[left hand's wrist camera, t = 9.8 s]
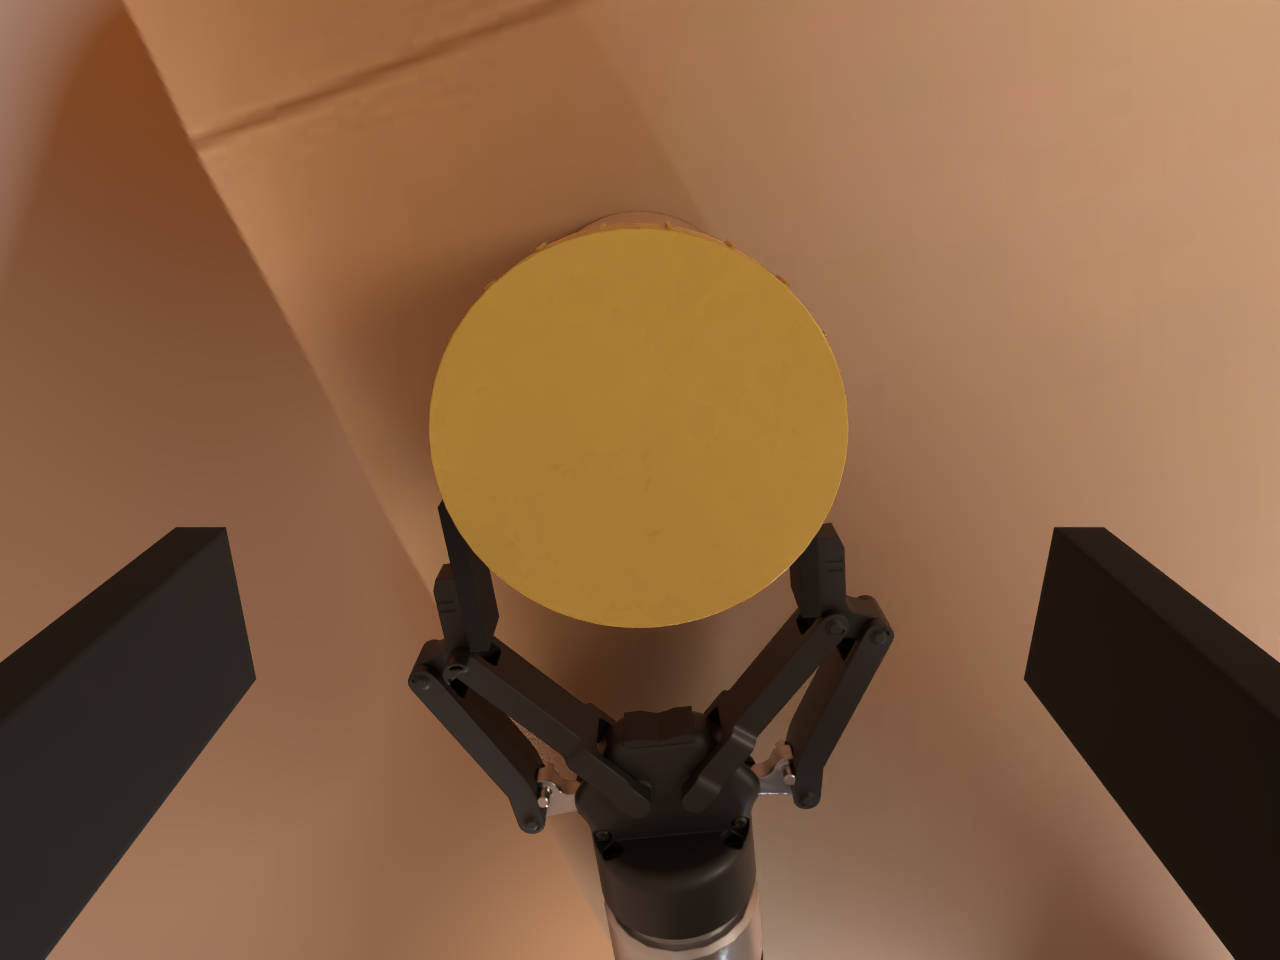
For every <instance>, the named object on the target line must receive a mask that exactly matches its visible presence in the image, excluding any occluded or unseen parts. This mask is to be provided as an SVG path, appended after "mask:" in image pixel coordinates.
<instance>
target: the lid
mask: <svg viewBox="0 0 1280 960" xmlns="http://www.w3.org/2000/svg"><path fill="white" fill-rule="evenodd" d="M789 285H790V284H789V283H788V282H786V281H785V280H784V279H783V278H781V277H780V276H779V275H777V276H776V277H775V276H774V275H773V274H771V273H770V272H769V271H768V270H767V269H765V268H764V267H763V266H762V265H760V264H759V263H758V262H757V261H755V260H754V259H753V258H751V257H749V256H748V255H746V254H744V253H743V252H741V251H739V250H738V249H736V245H734V244H733V243H732V242H731V241H729V240H727V239H726V241H725V242H722V241H720V240H718V239H716V238H713V237H711V236H709V235H706V234H703V233H700V232H696V231H693V230H689V229H685V228H682V227H678V226H672V225H671V223H670V222H669V221H665V225H663V224H655V223H621V224H614V225H606V222H602V223H601V225H600V226H599V227H595V228H591V229H588V230H584V231H581V232H577V233H574V234H570V235H568V236H566V237H564V238H561V239H559V240H557V241H555V242H552V243H550V244H548V245H547V243H546V242H544V243H542V244H541V245H540V246H538V247H537V248H536V252H534V253H533V254H531V255H529V256H528V257H526V258H525V259H523V260H522V261H520V262H519V263H518V264H516V265H515V266H514V267H513V268H511V269H510V270H509V271H508V272H506V273H505V274H504V275H503V276H502V277H500V278H499V279H498V280H497V279H494V280H493V281H492V282H490V283H489V284H488V285H486V286H485V287H484V288H483V289H484V290H485V292H484V293H483V294H482V295H481V297H480V298H479V299H478V300H477V301H476V302H475V303H474V304H473V305H472V306H471V307H470V309H469V310H468V312H467V313H466V315H465V316H464V318H463V319H462V321H461V322H460V324H459V325H458V327H457V328H456V330H455V331H454V333H453V335H452V336H451V337H449V339H448V342H449V343H448V345H447V347H446V349H445V351H444V354H443V356H442V359H441V362H440V365H439V368H438V371H437V374H436V377H435V380H434V385H433V390H432V396H431V402H430V407H429V444H430V454H431V461H432V465H433V470H434V474H435V478H436V482H437V486H438V488H439V491H440V493H441V496H442V499H443V501H444V504H445V506H446V509H447V511H448V513H449V514H450V516H451V518H452V520H453V522H454V524H455V525H456V527H457V529H458V531H459V532H460V534H461V535H462V536H463V538H464V539H465V541H466V542H467V543H468V545H469V546H470V547H471V549H472V550H473V552H474V553H475V554H476V555H477V556H478V557H479V558H480V559H481V560H482V561H483V562H484V563H485V564H486V566H487V567H488V568H489V569H490V570H491V571H492V572H494V573H495V574H496V575H497V576H498V577H500V578H501V579H502V580H503V581H504V582H506V583H507V584H508V585H509V586H510V587H512V588H514V589H515V590H517V591H518V592H520V593H521V594H523V595H524V596H526V597H527V598H529V599H531V600H532V601H534V602H536V603H538V604H540V605H542V606H545V607H547V608H549V609H551V610H553V611H555V612H558V613H561V614H563V615H566V616H569V617H572V618H575V619H578V620H582V621H586V622H591V623H595V624H600V625H606V626H615V627H624V628H654V627H662V626H671V625H678V624H682V623H686V622H691V621H695V620H699V619H703V618H705V617H708V616H711V615H714V614H716V613H719V612H722V611H725V610H727V609H729V608H731V607H733V606H735V605H737V604H739V603H741V602H743V601H745V600H747V599H748V598H750V597H751V596H753V595H754V594H756V593H757V592H759V591H761V590H762V589H764V588H765V587H767V586H768V585H769V584H770V583H772V582H773V581H774V580H775V579H776V578H778V577H779V576H780V575H781V574H782V573H783V572H785V571H786V570H787V569H788V568H789V567H790V566H791V565H792V564H793V563H794V561H795V560H796V559H797V558H798V557H799V556H800V555H801V554H802V553H803V552H804V551H805V549H806V548H807V546H808V545H809V544H810V542H811V541H812V539H813V538H814V537H815V535H816V534H817V532H818V531H819V529H820V527H821V526H822V524H823V522H824V520H825V518H826V516H827V514H828V513H829V511H830V509H831V507H832V504H833V501H834V499H835V496H836V494H837V491H838V488H839V486H840V482H841V478H842V474H843V470H844V465H845V461H846V454H847V443H848V411H847V402H846V397H845V391H844V386H843V380H842V377H841V374H840V371H839V368H838V365H837V362H836V359H835V356H834V354H833V352H832V350H831V348H830V346H829V344H828V342H827V340H826V338H825V337H827V335H826V333H825V332H824V331H823V330H821V328H820V327H819V325H818V324H817V322H816V321H815V320H814V318H813V317H812V315H811V314H810V312H809V311H808V309H807V308H806V307H805V305H804V304H803V303H802V302H801V301H800V300H799V299H798V298H797V297H796V296H795V295H794V294H793V292H792V291H791V290H790V289H789V288H788V286H789Z"/></svg>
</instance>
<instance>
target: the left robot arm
mask: <svg viewBox="0 0 1280 960" xmlns="http://www.w3.org/2000/svg"><path fill="white" fill-rule="evenodd" d="M255 680H256V676H255V671H254V666H253V661H252V656H251V651H250V646H249V641H248V636H247V631H246V626H245V621H244V616H243V611H242V606H241V601H240V596H239V591H238V586H237V581H236V576H235V571H234V566H233V561H232V556H231V551H230V546H229V541H228V536H227V531H226V528H225V527H176V528H174V529H173V530H172V531H171V532H169V533H168V534H167V535H165V536H164V537H163V538H162V539H160V540H159V541H158V542H156V543H155V544H154V545H152V546H151V547H150V548H149V549H147V550H146V551H145V552H143V553H142V554H141V555H139V556H138V557H137V558H136V559H134V560H133V561H132V562H130V563H129V564H128V565H126V566H125V567H124V568H123V569H121V570H120V571H119V572H117V573H116V574H115V575H114V576H112V577H111V578H110V579H108V580H107V581H106V582H104V583H103V584H102V585H101V586H99V587H98V588H97V589H95V590H94V591H93V592H91V593H90V594H89V595H88V596H86V597H85V598H84V599H82V600H81V601H80V602H79V603H77V604H76V605H75V606H73V607H72V608H71V609H69V610H68V611H67V612H65V613H64V614H63V615H62V616H60V617H59V618H58V619H56V620H55V621H54V622H53V623H51V624H50V625H49V626H47V627H46V628H45V629H43V630H42V631H41V632H40V633H38V634H37V635H36V636H34V637H33V638H32V639H30V640H29V641H28V642H27V643H25V644H24V645H23V646H21V647H20V648H19V649H18V650H16V651H15V652H14V653H12V654H11V655H10V656H8V657H7V658H6V659H5V660H3V661H2V662H1V663H0V960H45V959H46V957H47V956H48V955H49V953H50V952H51V951H52V949H53V948H54V947H55V945H56V944H57V943H58V942H59V940H60V939H61V937H62V936H63V935H64V934H65V932H66V931H67V930H68V928H69V927H70V925H71V924H72V923H73V922H74V920H75V919H76V918H77V916H78V915H79V914H80V912H81V911H82V910H83V908H84V907H85V906H86V904H87V903H88V902H89V900H90V899H91V898H92V896H93V895H94V894H95V892H96V891H97V890H98V888H99V887H100V886H101V884H102V883H103V882H104V880H105V879H106V878H107V876H108V875H109V874H110V872H111V871H112V870H113V868H114V867H115V866H116V865H117V863H118V862H119V861H120V859H121V858H122V857H123V855H124V854H125V853H126V851H127V850H128V849H129V847H130V846H131V845H132V843H133V842H134V841H135V839H136V838H137V837H138V835H139V834H140V833H141V831H142V830H143V829H144V827H145V826H146V825H147V823H148V822H149V821H150V819H151V818H152V817H153V815H154V814H155V813H156V811H157V810H158V809H159V807H160V806H161V805H162V803H163V802H164V801H165V799H166V798H167V797H168V795H169V794H170V793H171V792H172V790H173V789H174V788H175V786H176V785H177V784H178V782H179V781H180V780H181V778H182V777H183V776H184V774H185V773H186V772H187V770H188V769H189V768H190V766H191V765H192V764H193V762H194V761H195V760H196V758H197V757H198V756H199V754H200V753H201V752H202V750H203V749H204V748H205V746H206V745H207V744H208V742H209V741H210V740H211V738H212V737H213V736H214V734H215V733H216V732H217V730H218V729H219V728H220V726H221V725H222V724H223V722H224V721H225V720H226V718H227V717H228V716H229V714H230V713H231V712H232V710H233V709H234V708H235V706H236V705H237V704H238V703H239V701H240V700H241V699H242V697H243V696H244V695H245V693H246V692H247V691H248V689H249V688H250V687H251V685H252V684H253V683H254V681H255ZM1024 680H1025V681H1026V683H1027V684H1028V685H1029V687H1030V688H1031V689H1032V691H1033V692H1034V693H1035V695H1036V696H1037V697H1038V699H1039V700H1040V701H1041V703H1042V704H1043V705H1044V707H1045V708H1046V709H1047V711H1048V712H1049V713H1050V714H1051V716H1052V717H1053V718H1054V720H1055V721H1056V722H1057V724H1058V725H1059V726H1060V728H1061V729H1062V730H1063V732H1064V733H1065V734H1066V736H1067V737H1068V738H1069V740H1070V741H1071V742H1072V744H1073V745H1074V746H1075V748H1076V749H1077V750H1078V752H1079V753H1080V754H1081V756H1082V757H1083V758H1084V760H1085V761H1086V762H1087V764H1088V765H1089V766H1090V768H1091V769H1092V770H1093V772H1094V773H1095V774H1096V776H1097V777H1098V778H1099V780H1100V781H1101V782H1102V784H1103V785H1104V786H1105V788H1106V789H1107V790H1108V792H1109V793H1110V794H1111V795H1112V797H1113V798H1114V799H1115V801H1116V802H1117V803H1118V805H1119V806H1120V807H1121V809H1122V810H1123V811H1124V813H1125V814H1126V815H1127V817H1128V818H1129V819H1130V821H1131V822H1132V823H1133V825H1134V826H1135V827H1136V829H1137V830H1138V831H1139V833H1140V834H1141V835H1142V837H1143V838H1144V839H1145V841H1146V842H1147V843H1148V845H1149V846H1150V847H1151V849H1152V850H1153V851H1154V853H1155V854H1156V855H1157V857H1158V858H1159V859H1160V861H1161V862H1162V863H1163V865H1164V866H1165V867H1166V869H1167V870H1168V871H1169V873H1170V874H1171V875H1172V876H1173V878H1174V879H1175V880H1176V882H1177V883H1178V884H1179V886H1180V887H1181V888H1182V890H1183V891H1184V892H1185V894H1186V895H1187V896H1188V898H1189V899H1190V900H1191V902H1192V903H1193V904H1194V906H1195V907H1196V908H1197V910H1198V911H1199V912H1200V914H1201V915H1202V916H1203V918H1204V919H1205V920H1206V922H1207V923H1208V924H1209V926H1210V927H1211V928H1212V930H1213V931H1214V932H1215V934H1216V935H1217V936H1218V938H1219V939H1220V940H1221V942H1222V943H1223V944H1224V946H1225V947H1226V948H1227V950H1228V951H1229V952H1230V953H1231V955H1232V956H1233V957H1234V959H1235V960H1280V663H1279V662H1278V661H1277V660H1275V659H1274V658H1273V657H1272V656H1270V655H1269V654H1268V653H1266V652H1265V651H1264V650H1262V649H1261V648H1260V647H1259V646H1257V645H1256V644H1255V643H1253V642H1252V641H1251V640H1250V639H1248V638H1247V637H1246V636H1244V635H1243V634H1242V633H1240V632H1239V631H1238V630H1237V629H1235V628H1234V627H1233V626H1231V625H1230V624H1229V623H1227V622H1226V621H1225V620H1224V619H1222V618H1221V617H1220V616H1218V615H1217V614H1216V613H1214V612H1213V611H1212V610H1211V609H1209V608H1208V607H1207V606H1205V605H1204V604H1203V603H1202V602H1200V601H1199V600H1198V599H1196V598H1195V597H1194V596H1192V595H1191V594H1190V593H1189V592H1187V591H1186V590H1185V589H1183V588H1182V587H1181V586H1179V585H1178V584H1177V583H1176V582H1174V581H1173V580H1172V579H1170V578H1169V577H1168V576H1167V575H1165V574H1164V573H1163V572H1161V571H1160V570H1159V569H1157V568H1156V567H1155V566H1154V565H1152V564H1151V563H1150V562H1148V561H1147V560H1146V559H1144V558H1143V557H1142V556H1141V555H1139V554H1138V553H1137V552H1135V551H1134V550H1133V549H1132V548H1130V547H1129V546H1128V545H1126V544H1125V543H1124V542H1122V541H1121V540H1120V539H1119V538H1117V537H1116V536H1115V535H1113V534H1112V533H1111V532H1109V531H1108V530H1107V529H1106V528H1104V527H1054V531H1053V536H1052V541H1051V546H1050V551H1049V556H1048V561H1047V566H1046V571H1045V576H1044V581H1043V586H1042V591H1041V596H1040V601H1039V606H1038V611H1037V616H1036V621H1035V626H1034V631H1033V636H1032V641H1031V646H1030V651H1029V656H1028V661H1027V666H1026V671H1025V676H1024Z"/></svg>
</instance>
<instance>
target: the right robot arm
mask: <svg viewBox="0 0 1280 960" xmlns="http://www.w3.org/2000/svg"><path fill="white" fill-rule="evenodd" d="M438 511H439V515H440V520H441V524H442V529H443V533H444V537H445V542H446V546H447V551H448V555H449V560H450V564H443V566H442V568H441V570H440V572H439V574H438V576H437V578H436V580H435V585H434V590H433V592H434V596H435V600H436V603H437V609H438V611H439V617H440V621H441V626H442V630H443V634H444V639H442V640H430V641H427V642H426V643H425V644H424V646H423V648H422V650H421V652H420V654H419V656H418V659H417V661H416V663H415V665H414V667H413V669H412V672H411V674H410V676H409V679H408V685H409V687H410V688H411V690H412V691H413V692H414V693H415V694H416V695H417V696H418V698H419V699H420V700H421V701H422V702H423V703H424V704H425V705H426V706H427V708H428V709H429V710H430V711H431V712H432V713H433V714H434V715H435V716H436V718H437V719H438V720H439V721H440V722H441V723H442V724H443V725H444V726H445V728H446V729H447V730H448V731H449V732H450V733H451V734H452V735H453V736H454V738H455V739H456V740H457V741H458V742H459V743H460V744H461V745H462V746H463V748H464V749H465V750H466V751H467V752H468V753H469V754H470V755H471V756H472V758H473V759H474V760H475V761H476V762H477V763H478V764H479V765H480V766H481V768H482V769H483V770H484V771H485V772H486V773H487V774H488V775H489V776H490V777H491V779H492V780H493V781H494V782H495V783H496V784H497V785H498V786H499V787H500V789H501V790H502V791H503V792H504V793H505V794H506V795H507V796H508V798H509V800H510V803H511V806H512V808H513V811H514V814H515V816H516V819H517V822H518V825H519V827H520V828H521V830H523V831H524V832H526V833H530V834H535V833H538V832H540V831H542V830H543V828H544V826H545V821H546V817H548V816H554V815H559V814H564V813H570V812H575V811H578V812H579V814H580V815H581V816H582V817H583V818H584V819H585V820H586V821H587V822H588V824H589V826H590V828H591V831H592V837H593V842H594V848H595V853H596V859H597V864H598V870H599V875H600V881H601V886H602V892H603V895H604V898H605V909H606V914H607V920H608V925H609V930H610V935H611V940H612V946H613V951H614V956H615V960H763V950H762V947H763V938H762V927H761V917H760V906H759V896H758V885H757V881H756V864H755V853H754V841H753V830H752V818H751V809H752V806H753V804H754V802H755V801H756V799H757V797H758V795H771V794H792V796H793V800H794V803H795V804H796V806H798V807H800V808H802V809H810V808H813V807H815V806H816V805H817V804H818V803H819V801H820V798H821V787H822V777H823V768H824V766H825V764H826V762H827V760H828V759H829V757H830V755H831V753H832V751H833V749H834V748H835V746H836V744H837V742H838V740H839V738H840V737H841V735H842V733H843V731H844V729H845V727H846V726H847V724H848V722H849V720H850V718H851V716H852V715H853V713H854V711H855V709H856V707H857V705H858V704H859V702H860V700H861V698H862V696H863V694H864V693H865V691H866V689H867V687H868V685H869V683H870V682H871V680H872V678H873V676H874V674H875V672H876V671H877V669H878V667H879V665H880V663H881V661H882V660H883V658H884V656H885V654H886V652H887V650H888V648H889V647H890V645H891V643H892V641H893V638H894V634H893V630H892V628H891V627H890V625H889V623H888V621H887V619H886V617H885V616H884V614H883V612H882V610H881V608H880V607H879V605H878V603H877V601H876V600H875V599H874V598H873V597H871V596H867V595H863V596H859V597H858V598H854V597H850V596H847V595H846V584H845V561H844V560H845V553H844V546H843V544H842V542H841V540H840V538H839V536H838V535H837V533H836V531H835V529H834V527H833V525H832V523H825V524H822V526H821V527H820V529H819V531H818V532H817V534H816V535H815V537H814V538H813V539H812V541H811V542H810V544H809V545H808V546H807V548H806V549H805V551H804V552H803V553H802V554H801V555H800V556H799V557H798V558H797V559H796V560H795V561H794V563H793V564H792V565H791V566H790V581H791V588H792V591H793V594H794V596H795V599H796V602H797V605H798V608H797V610H796V611H795V612H794V613H793V614H792V616H791V617H790V618H789V619H788V620H787V622H786V623H785V624H784V625H783V626H782V628H781V629H780V630H779V631H778V632H777V634H776V635H775V636H774V637H773V638H772V640H771V641H770V642H769V643H768V644H767V646H766V647H765V648H764V649H763V650H762V652H761V653H760V654H759V655H758V656H757V658H756V659H755V660H754V661H753V662H752V664H751V665H750V666H749V667H748V668H747V670H746V671H745V672H744V673H743V674H742V676H741V677H740V678H739V679H738V680H737V682H736V683H735V684H734V685H733V686H732V688H731V689H730V690H728V691H727V690H724V691H722V692H721V693H720V694H719V695H718V697H717V698H716V699H715V700H714V701H713V703H712V704H711V705H710V706H709V707H708V709H707V710H706V711H705V712H704V713H703V714H702V713H699V712H695V711H692V707H691V706H687V707H677V708H672V709H669V710H666V711H663V712H660V713H652V712H644V711H636V712H626V713H624V718H622V719H620V720H618V721H615V720H613V719H612V718H611V717H609V716H608V715H607V714H605V713H604V712H603V711H601V710H600V709H599V708H598V707H596V706H595V705H593V704H590V703H589V704H587V705H585V704H583V703H582V702H580V701H579V700H578V699H576V698H575V697H574V696H572V695H571V694H570V693H568V692H567V691H566V690H564V689H563V688H562V687H561V686H559V685H558V684H557V683H555V682H554V681H553V680H551V679H550V678H549V677H547V676H546V675H545V674H543V673H542V672H541V671H539V670H538V669H537V668H535V667H534V666H533V665H532V664H530V663H529V662H528V661H526V660H525V659H524V658H522V657H521V656H520V655H518V654H517V653H516V652H514V651H513V650H512V649H510V648H509V647H508V646H507V645H505V644H504V643H503V642H501V641H500V640H499V639H497V638H496V637H495V636H493V635H494V632H495V628H496V625H497V622H498V619H499V613H498V609H497V604H496V599H495V594H494V589H493V584H492V580H491V575H490V570H489V568H488V567H487V566H486V564H485V563H484V562H483V561H482V560H481V559H480V558H479V557H478V556H477V555H476V554H475V553H474V552H473V550H472V549H471V547H470V546H469V545H468V543H467V542H466V541H465V539H464V538H463V536H462V535H461V534H460V532H459V531H458V529H457V527H456V525H455V524H454V522H453V520H452V518H451V516H450V514H449V513H448V511H447V509H446V506H445V504H444V501H443V499H442V501H441V503H440V504H439V506H438ZM819 665H820V666H819ZM818 666H819V668H818ZM817 668H818V670H817V672H816V673H815V675H814V677H813V679H812V681H811V683H810V685H809V687H808V689H807V691H806V693H805V695H804V697H803V699H802V701H801V703H800V705H799V707H798V708H797V710H796V712H795V714H794V716H793V718H792V721H791V723H790V725H789V729H788V732H787V738H786V741H785V740H779V741H778V742H777V743H776V745H775V747H776V748H775V749H774V750H773V751H772V754H771V756H770V758H769V759H768V760H767V761H765V762H763V763H759V764H756V763H755V761H754V760H753V758H752V757H751V756H750V754H751V753H752V751H753V749H754V747H755V743H756V739H757V737H758V736H759V734H760V733H761V732H762V731H763V730H764V729H765V727H766V726H767V725H768V724H769V723H770V722H771V721H772V719H773V718H774V717H775V716H776V715H777V714H778V712H779V711H780V710H781V709H782V708H783V707H784V706H785V704H786V703H787V702H788V701H789V700H790V699H791V698H792V696H793V695H794V694H795V693H796V692H797V691H798V689H799V688H800V687H801V686H802V685H803V684H804V683H805V681H806V680H807V679H808V678H809V677H810V676H811V674H812V673H813V672H814V671H815V670H816V669H817ZM507 715H508V716H509V717H511V718H512V719H514V720H515V721H516V722H518V723H519V724H520V725H522V726H523V727H524V728H526V729H527V730H529V731H530V732H531V733H533V734H534V735H535V736H537V737H538V738H539V739H541V740H542V741H544V742H545V743H546V744H548V745H549V746H550V747H552V748H553V749H554V750H556V751H557V752H559V753H560V754H561V755H562V756H563V757H564V759H565V761H566V764H567V766H568V767H569V768H570V769H571V770H572V771H573V772H574V773H576V774H577V775H578V776H577V780H575V781H569V780H565V779H563V778H562V777H561V776H560V775H559V774H558V772H557V771H556V770H554V768H555V767H554V765H553V764H552V763H550V762H546V763H544V764H543V762H542V760H541V757H540V756H539V754H538V752H537V750H536V749H535V748H534V746H533V745H532V744H531V742H530V741H529V740H528V739H527V738H526V737H525V735H524V734H523V733H522V732H521V731H520V730H519V728H518V727H517V726H516V725H515V724H514V723H513V721H512V720H511V719H510V718H509V717H508V716H507ZM597 743H598V745H597Z"/></svg>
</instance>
